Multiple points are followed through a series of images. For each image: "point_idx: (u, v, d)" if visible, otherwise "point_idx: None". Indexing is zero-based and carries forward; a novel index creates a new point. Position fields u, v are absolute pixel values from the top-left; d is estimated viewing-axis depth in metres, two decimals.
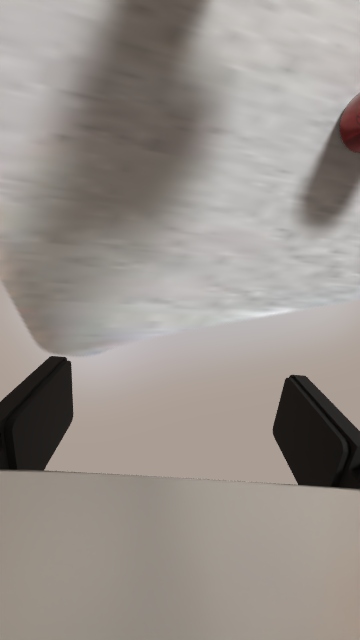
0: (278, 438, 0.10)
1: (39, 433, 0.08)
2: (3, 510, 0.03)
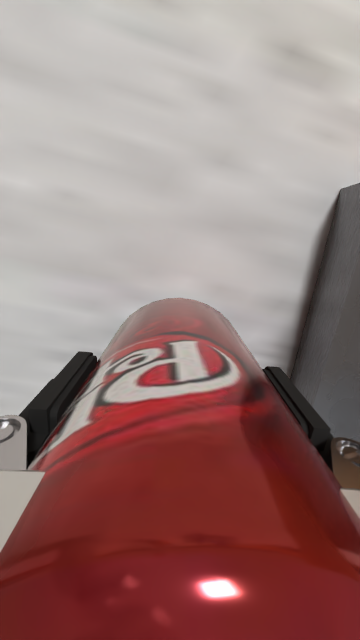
0: None
1: None
2: (3, 510, 0.03)
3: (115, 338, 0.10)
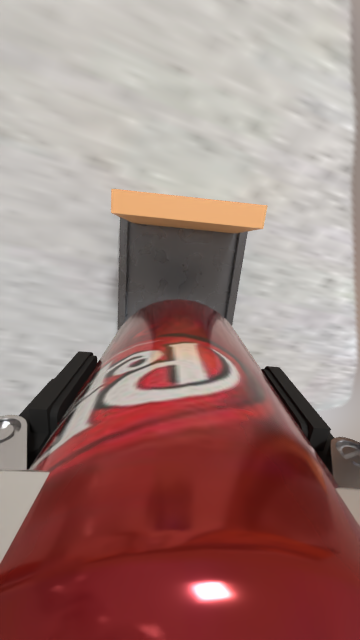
0: None
1: None
2: (3, 510, 0.03)
3: (115, 340, 0.10)
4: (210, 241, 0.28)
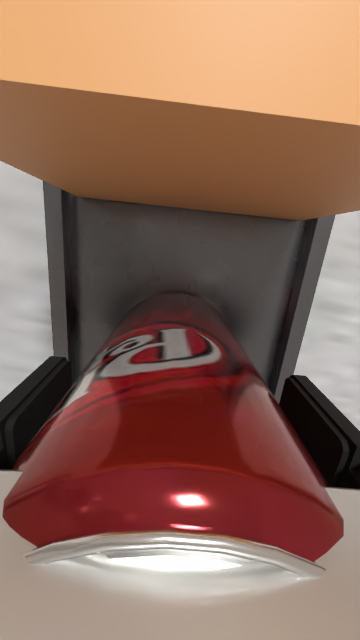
0: None
1: None
2: None
3: (114, 330, 0.11)
4: (247, 238, 0.13)
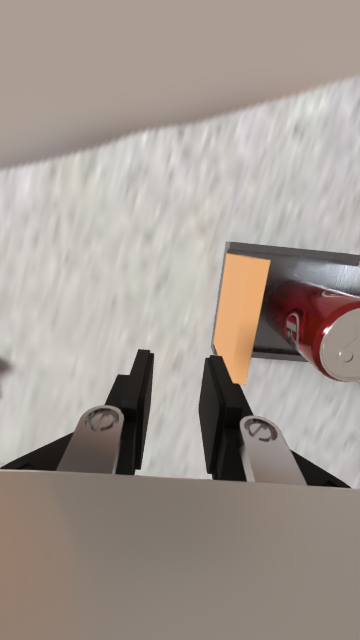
0: (200, 413, 0.12)
1: (146, 413, 0.09)
2: (3, 510, 0.03)
3: (282, 337, 0.28)
4: None
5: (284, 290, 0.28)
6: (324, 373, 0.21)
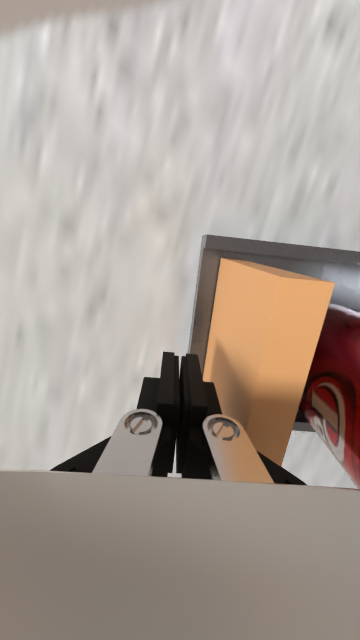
0: None
1: None
2: (3, 510, 0.03)
3: None
4: None
5: None
6: None
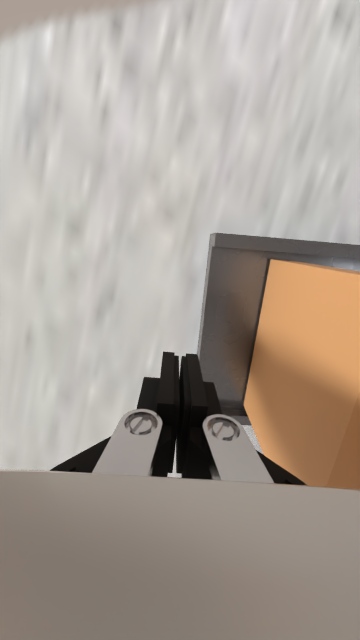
0: None
1: None
2: (3, 510, 0.03)
3: None
4: (243, 294, 0.17)
5: None
6: None
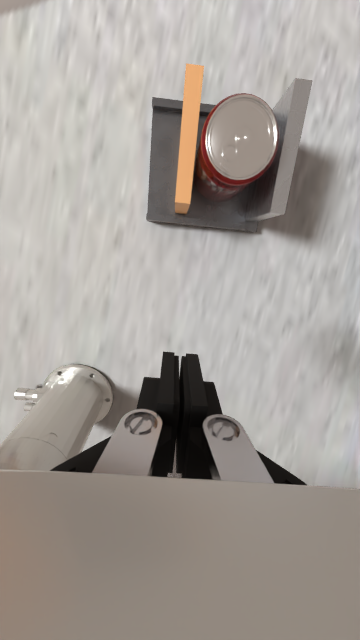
0: None
1: None
2: (3, 510, 0.03)
3: (202, 188, 0.31)
4: (171, 139, 0.32)
5: None
6: (214, 173, 0.23)
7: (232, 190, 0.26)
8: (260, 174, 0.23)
